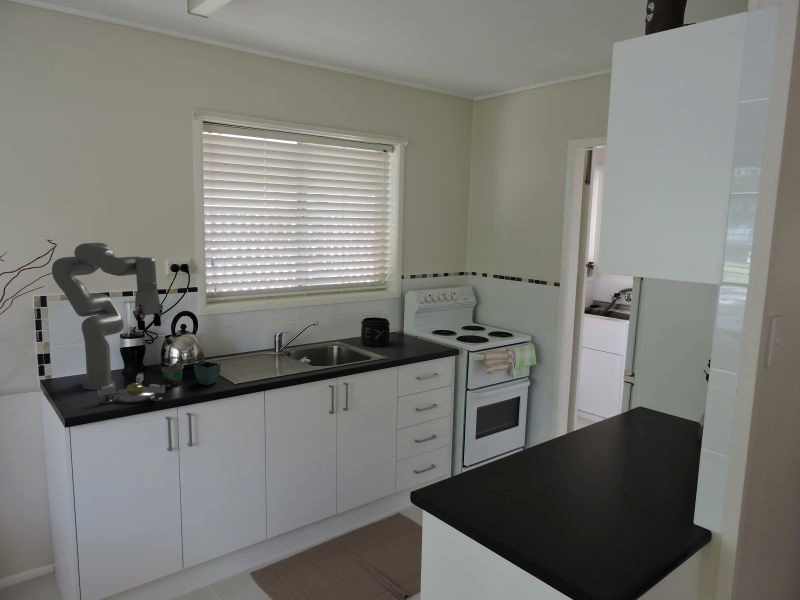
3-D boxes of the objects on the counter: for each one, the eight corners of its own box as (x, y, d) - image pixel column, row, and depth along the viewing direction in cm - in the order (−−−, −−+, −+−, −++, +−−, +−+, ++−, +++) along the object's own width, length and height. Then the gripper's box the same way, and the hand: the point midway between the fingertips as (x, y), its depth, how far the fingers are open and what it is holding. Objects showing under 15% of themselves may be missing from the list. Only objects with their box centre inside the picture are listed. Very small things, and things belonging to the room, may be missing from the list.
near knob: (114, 397, 237) (114, 384, 236) (116, 398, 235) (115, 385, 235) (97, 400, 232) (97, 387, 231) (99, 401, 231) (98, 388, 230)
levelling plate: (98, 403, 233) (97, 389, 232) (138, 387, 255) (138, 374, 254) (141, 409, 227) (141, 395, 226) (179, 392, 249) (179, 379, 248)
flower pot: (209, 387, 258) (208, 368, 257) (193, 384, 261) (192, 365, 260) (221, 382, 267) (221, 363, 265) (206, 379, 270) (205, 361, 268)
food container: (174, 390, 253) (173, 368, 251) (161, 388, 254) (161, 367, 253) (189, 382, 265) (189, 361, 263) (177, 381, 266) (177, 360, 264)
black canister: (353, 344, 354) (354, 319, 352) (373, 340, 368) (374, 316, 365) (375, 349, 342) (376, 323, 340) (394, 344, 356) (395, 320, 354)
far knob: (149, 397, 238) (148, 384, 238) (152, 395, 240) (151, 383, 239) (162, 399, 237) (161, 385, 236) (165, 397, 239) (164, 384, 238)
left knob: (141, 388, 249) (140, 376, 248) (136, 389, 249) (135, 376, 248) (143, 384, 255) (143, 372, 254) (139, 384, 255) (138, 372, 254)
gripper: (153, 285, 247) (155, 324, 249) (124, 289, 230) (127, 331, 233) (168, 285, 245) (170, 324, 247) (140, 289, 228) (143, 332, 231)
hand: (149, 328), depth 240 cm, fingers open, 9 cm apart
